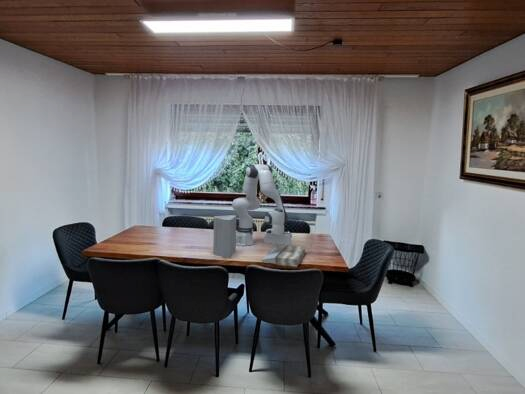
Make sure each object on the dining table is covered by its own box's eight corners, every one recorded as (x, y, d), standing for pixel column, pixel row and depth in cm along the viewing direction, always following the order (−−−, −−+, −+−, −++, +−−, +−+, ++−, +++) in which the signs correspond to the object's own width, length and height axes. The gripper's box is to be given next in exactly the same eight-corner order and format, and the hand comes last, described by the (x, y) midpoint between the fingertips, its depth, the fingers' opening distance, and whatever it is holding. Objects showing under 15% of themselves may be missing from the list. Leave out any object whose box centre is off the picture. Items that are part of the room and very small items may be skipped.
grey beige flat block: (276, 264, 251) (276, 257, 250) (286, 251, 285) (286, 245, 285) (297, 266, 247) (297, 259, 247) (304, 253, 282) (305, 246, 281)
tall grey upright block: (217, 250, 284) (217, 214, 281) (235, 251, 282) (236, 215, 278) (209, 256, 265) (210, 218, 262) (229, 258, 263) (230, 220, 260)
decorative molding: (262, 266, 256) (276, 264, 253) (261, 259, 256) (274, 257, 253) (275, 253, 288) (287, 251, 285) (273, 248, 288) (285, 246, 285)
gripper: (292, 231, 267) (292, 249, 269) (265, 229, 272) (265, 247, 274) (291, 233, 261) (290, 251, 263) (263, 230, 266) (263, 249, 268)
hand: (277, 249), depth 268 cm, fingers closed
